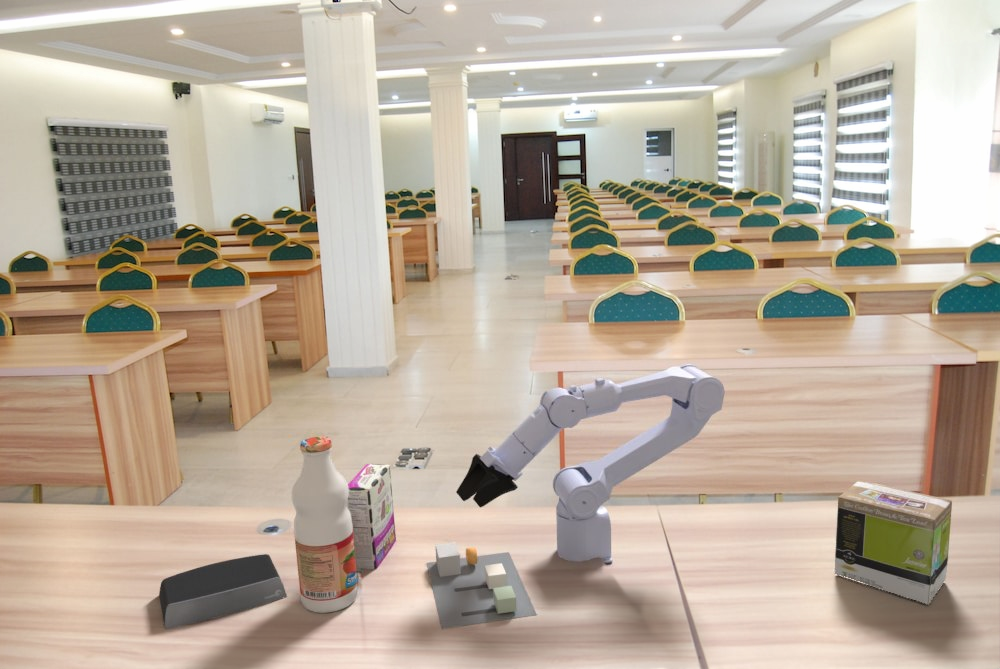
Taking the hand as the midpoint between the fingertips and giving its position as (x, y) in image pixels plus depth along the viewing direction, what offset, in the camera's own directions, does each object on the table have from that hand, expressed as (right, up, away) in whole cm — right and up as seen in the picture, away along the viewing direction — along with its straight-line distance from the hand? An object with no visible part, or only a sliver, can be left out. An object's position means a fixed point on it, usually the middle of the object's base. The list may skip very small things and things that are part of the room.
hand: (468, 500), depth 140 cm
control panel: (+2, -15, -4) cm, 15 cm away
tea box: (+71, -13, -4) cm, 72 cm away
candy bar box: (-18, -13, +8) cm, 23 cm away
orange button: (+1, -12, +3) cm, 12 cm away
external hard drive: (-42, -16, -2) cm, 45 cm away
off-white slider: (+5, -13, -4) cm, 15 cm away
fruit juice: (-23, -16, -5) cm, 28 cm away
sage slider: (+6, -15, -11) cm, 20 cm away
